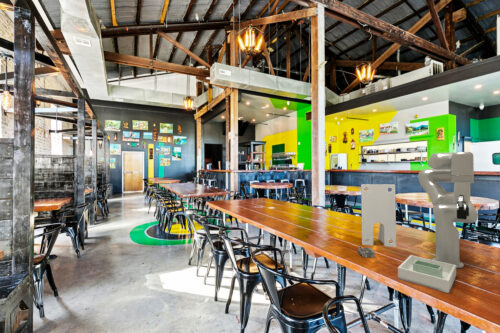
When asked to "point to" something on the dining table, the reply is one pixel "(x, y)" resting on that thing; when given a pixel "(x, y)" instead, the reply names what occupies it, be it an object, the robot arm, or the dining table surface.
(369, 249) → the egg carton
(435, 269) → the small crate
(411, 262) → the light grey tray
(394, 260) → the dining table surface
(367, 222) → the notched grey plate
